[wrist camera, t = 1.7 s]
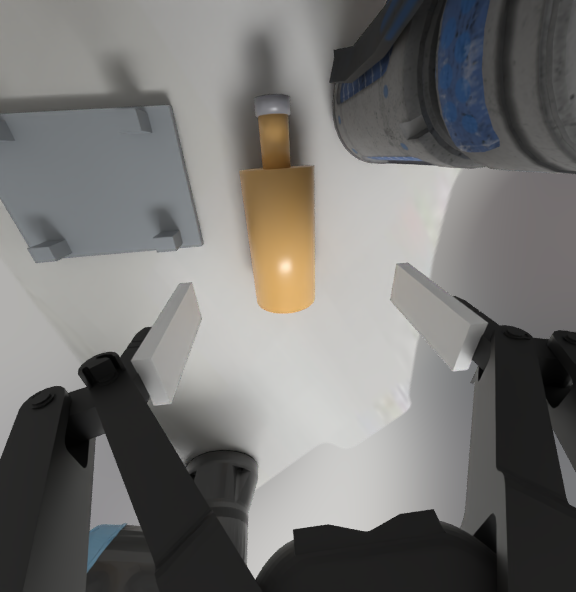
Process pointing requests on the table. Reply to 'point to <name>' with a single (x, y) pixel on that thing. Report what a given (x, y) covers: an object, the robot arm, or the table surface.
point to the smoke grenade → (462, 85)
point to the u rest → (97, 182)
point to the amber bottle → (280, 215)
